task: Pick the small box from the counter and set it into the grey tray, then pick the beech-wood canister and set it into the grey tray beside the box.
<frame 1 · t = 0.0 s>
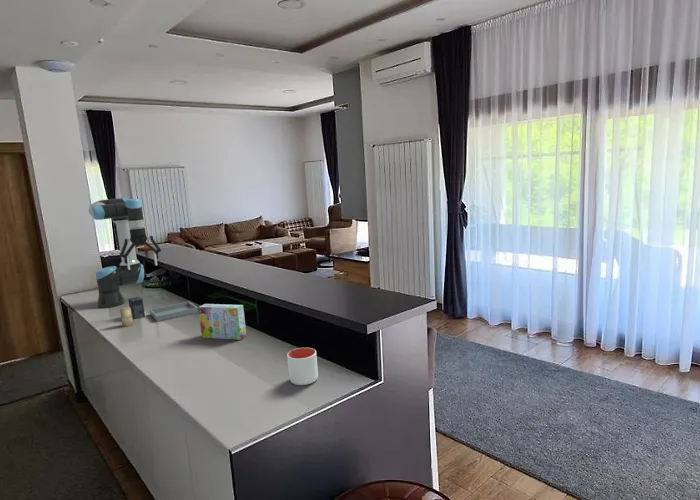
hand: (142, 267, 241), 28 cm above the kitchen island, fingers open, 13 cm apart
snack box: (224, 337, 206), on the kitchen island
cup: (304, 380, 156), on the kitchen island
box: (138, 317, 248), on the kitchen island
grey tray: (174, 313, 249), on the kitchen island
canister: (128, 325, 234), on the kitchen island
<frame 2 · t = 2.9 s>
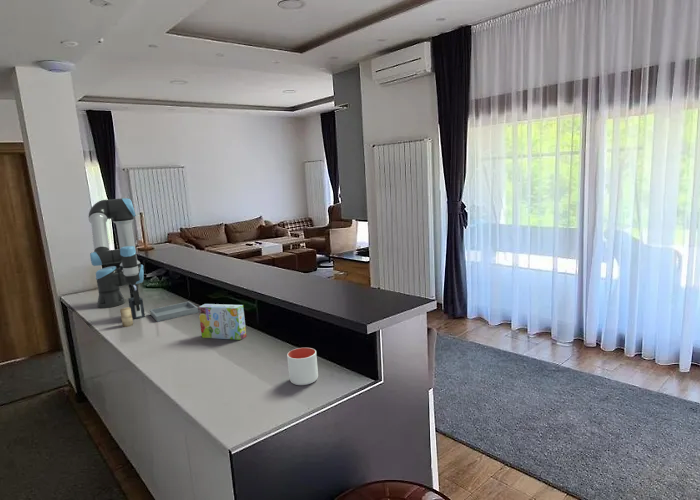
hand: (137, 314, 248), 1 cm above the kitchen island, fingers closed on box, 8 cm apart
box: (138, 317, 248), on the kitchen island, touching gripper
everything else where it was.
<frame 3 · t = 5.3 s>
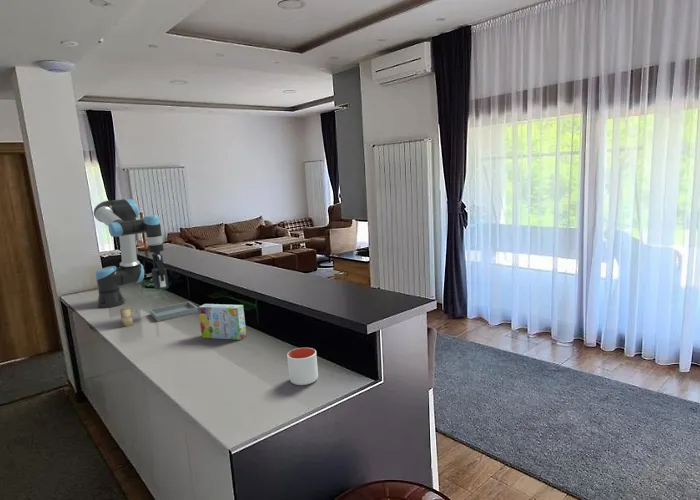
hand: (161, 285, 243), 17 cm above the kitchen island, fingers closed on box, 8 cm apart
box: (161, 288, 244), point 16 cm above the kitchen island, touching gripper
everything else where it was.
when the fingers open (3 cm above the kitchen island, at t = 7.8 s): box drops 1 cm, resting on grey tray.
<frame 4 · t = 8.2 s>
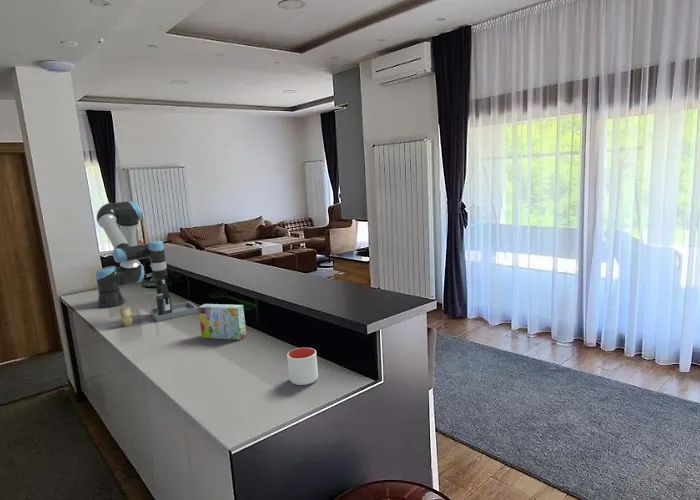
hand: (164, 307, 246), 5 cm above the kitchen island, fingers open, 13 cm apart
box: (165, 315, 246), resting on grey tray
everything else where it was.
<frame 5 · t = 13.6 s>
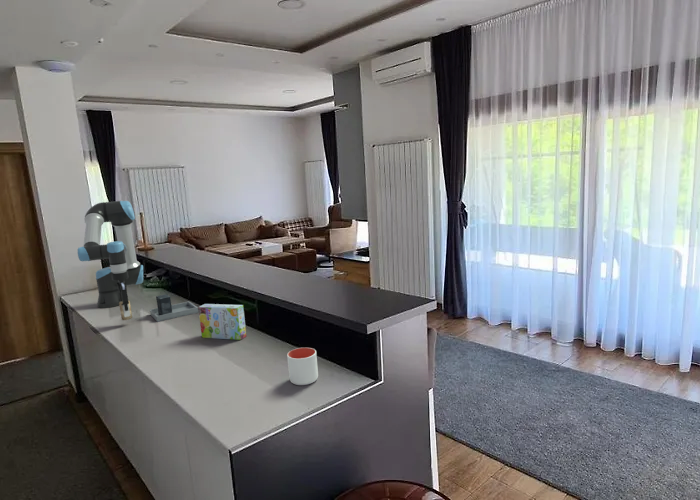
hand: (126, 315, 233), 5 cm above the kitchen island, fingers closed on canister, 5 cm apart
canister: (127, 318, 234), point 4 cm above the kitchen island, touching gripper
everything else where it was.
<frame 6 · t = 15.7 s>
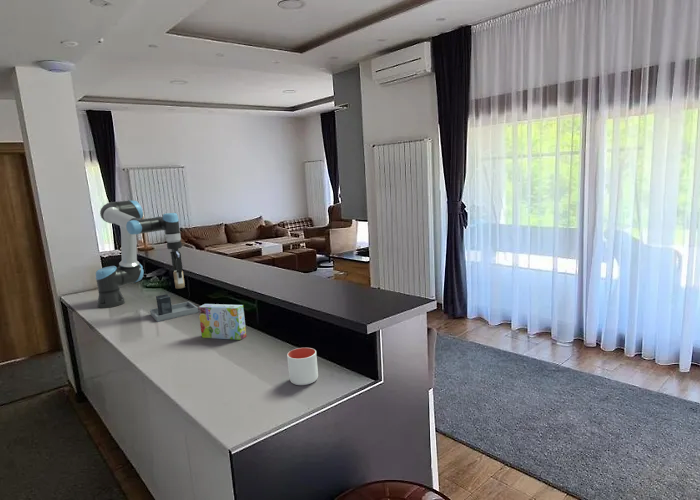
hand: (179, 282, 249), 17 cm above the kitchen island, fingers closed on canister, 5 cm apart
canister: (180, 287, 249), point 14 cm above the kitchen island, touching gripper
everything else where it was.
when the fingers open (3 cm above the kitchen island, at t = 18.2 s): canister stays where it is, resting on grey tray.
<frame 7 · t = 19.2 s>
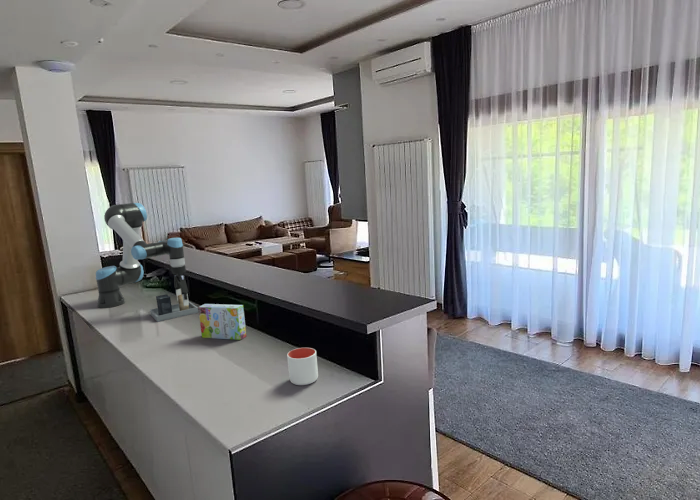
hand: (182, 302, 251), 5 cm above the kitchen island, fingers open, 13 cm apart
canister: (184, 310, 252), resting on grey tray
everything else where it was.
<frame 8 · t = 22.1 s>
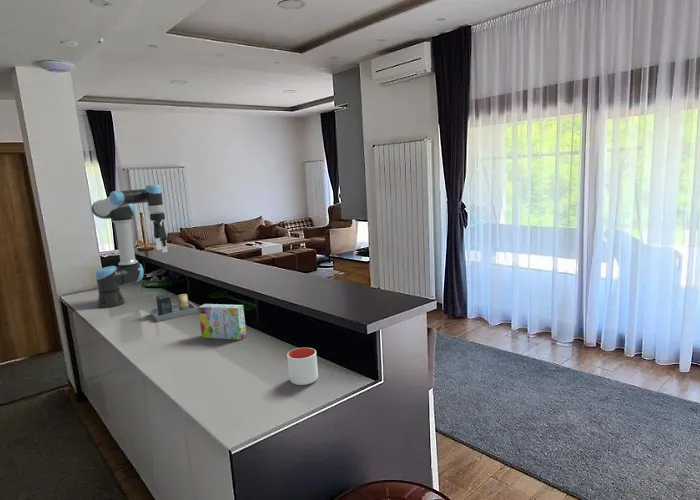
hand: (162, 250, 250), 35 cm above the kitchen island, fingers open, 13 cm apart
nothing on the kitchen island moved.
at the end: box inside the target area on the grey tray (4.6 cm from its centre), point 0.3 cm above the grey tray's base; canister inside the target area on the grey tray (5.5 cm from its centre), point 0.5 cm above the grey tray's base; the gripper is holding nothing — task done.
